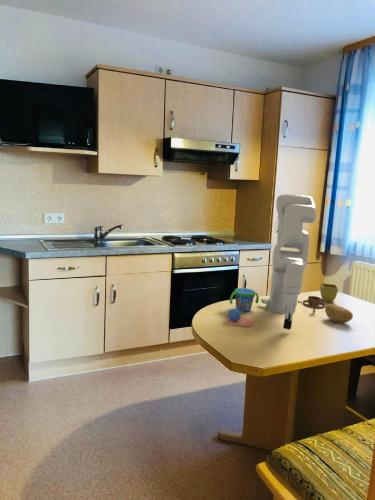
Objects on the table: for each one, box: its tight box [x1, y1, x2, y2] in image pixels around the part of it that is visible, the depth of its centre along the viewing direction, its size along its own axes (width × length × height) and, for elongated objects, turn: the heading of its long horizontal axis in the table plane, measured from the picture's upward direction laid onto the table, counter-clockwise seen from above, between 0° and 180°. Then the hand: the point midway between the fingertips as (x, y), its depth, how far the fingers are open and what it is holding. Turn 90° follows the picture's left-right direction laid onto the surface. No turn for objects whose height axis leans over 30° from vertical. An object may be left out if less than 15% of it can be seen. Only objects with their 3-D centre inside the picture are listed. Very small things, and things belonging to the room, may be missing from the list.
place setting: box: [297, 295, 326, 314], centre depth 224 cm, size 18×20×6 cm
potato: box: [324, 303, 354, 324], centre depth 202 cm, size 10×14×8 cm
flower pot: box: [319, 282, 339, 303], centre depth 238 cm, size 9×9×9 cm
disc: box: [225, 316, 255, 328], centre depth 193 cm, size 13×13×1 cm
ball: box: [227, 308, 242, 322], centre depth 192 cm, size 6×6×6 cm
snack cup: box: [229, 287, 260, 313], centre depth 209 cm, size 16×10×10 cm
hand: (287, 328), depth 184 cm, fingers closed
